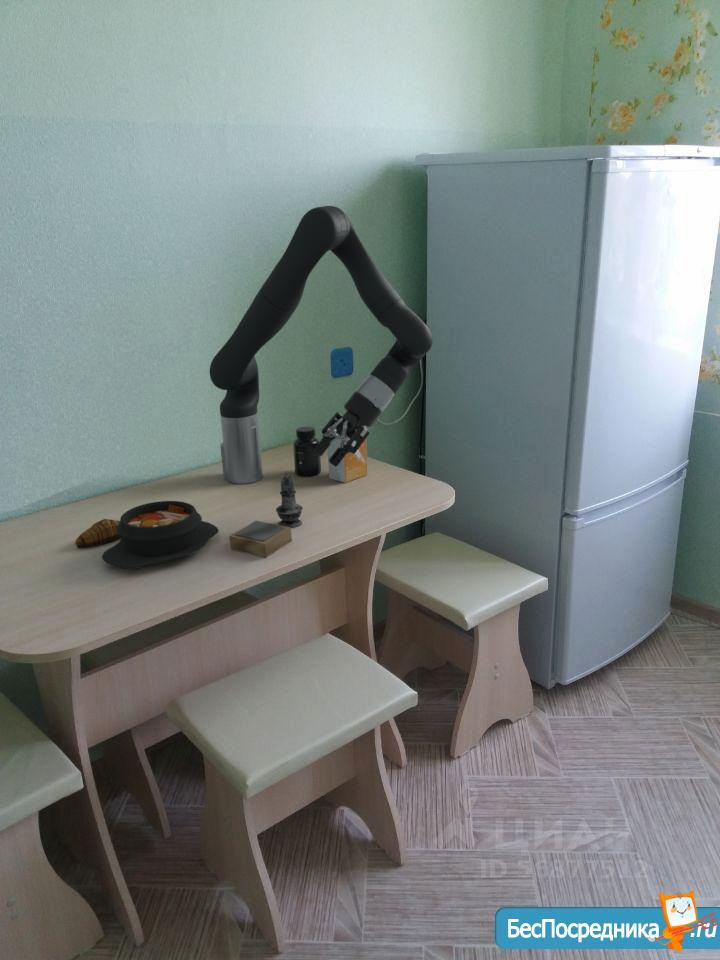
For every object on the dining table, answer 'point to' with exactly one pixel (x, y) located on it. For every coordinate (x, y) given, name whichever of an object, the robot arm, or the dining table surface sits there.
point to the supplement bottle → (306, 453)
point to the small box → (348, 463)
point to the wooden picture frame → (260, 538)
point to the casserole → (158, 534)
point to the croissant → (99, 534)
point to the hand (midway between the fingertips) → (324, 458)
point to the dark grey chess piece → (289, 504)
